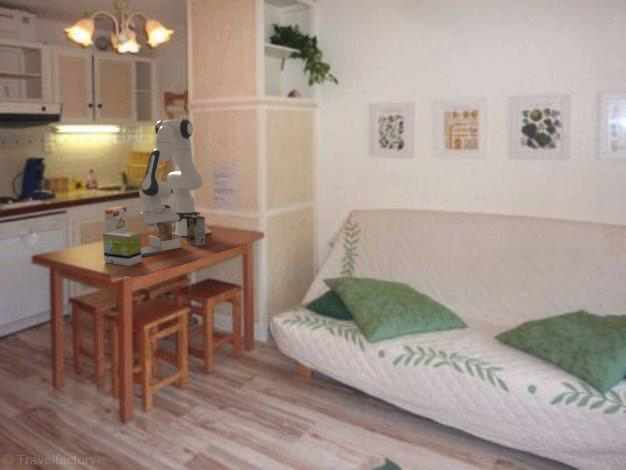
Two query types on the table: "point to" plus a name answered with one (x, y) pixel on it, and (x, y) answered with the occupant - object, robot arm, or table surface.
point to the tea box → (122, 248)
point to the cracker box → (116, 219)
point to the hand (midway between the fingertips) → (165, 230)
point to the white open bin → (165, 242)
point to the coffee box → (196, 230)
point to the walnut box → (165, 231)
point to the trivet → (150, 251)
